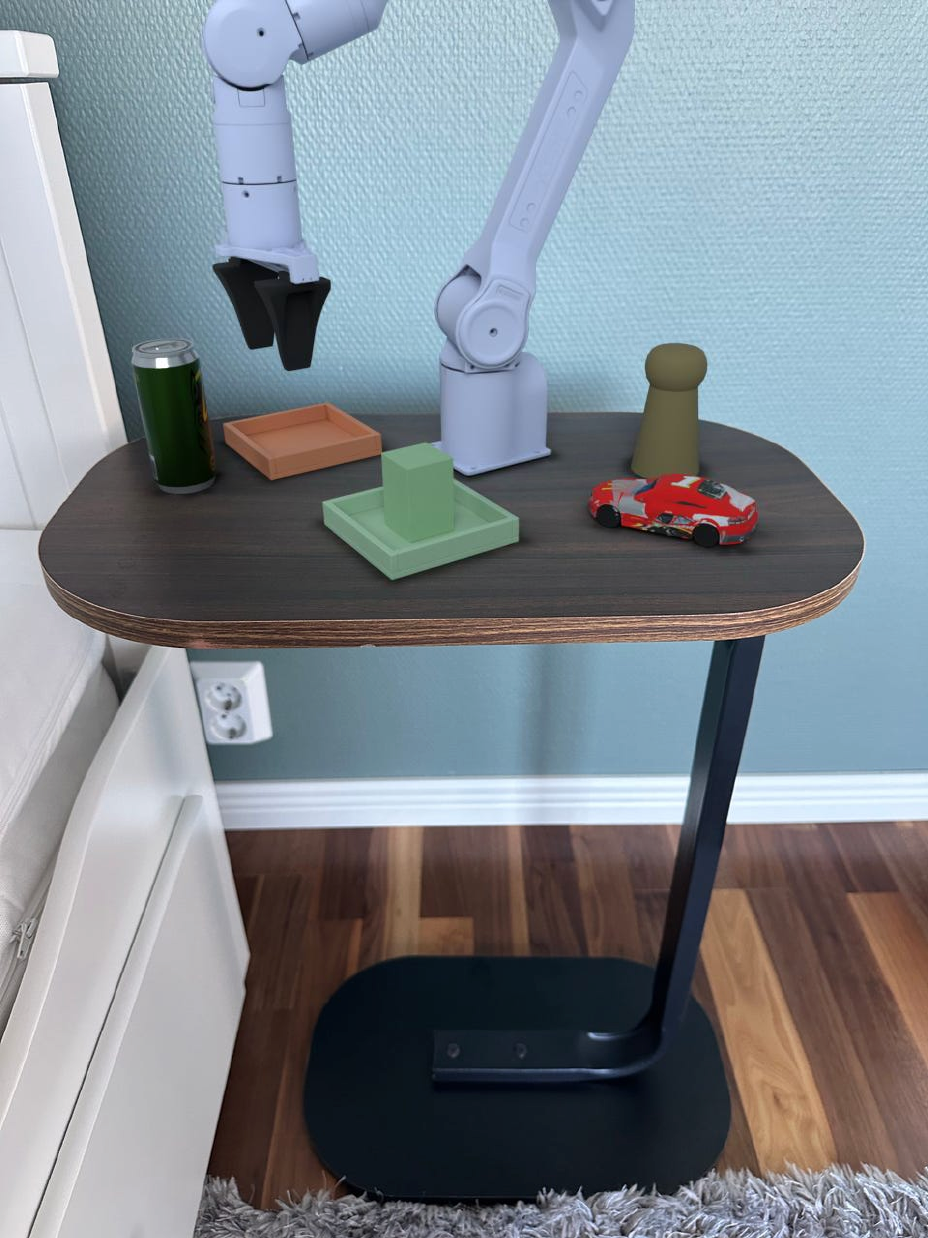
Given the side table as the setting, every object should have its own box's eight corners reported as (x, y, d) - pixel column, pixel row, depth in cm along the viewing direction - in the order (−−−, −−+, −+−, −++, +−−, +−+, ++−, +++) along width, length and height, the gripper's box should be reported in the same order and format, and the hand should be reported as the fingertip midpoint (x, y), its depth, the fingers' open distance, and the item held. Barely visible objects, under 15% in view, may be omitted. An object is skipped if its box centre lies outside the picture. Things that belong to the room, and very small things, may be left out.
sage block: (428, 512, 76) (426, 441, 73) (454, 530, 73) (453, 457, 70) (384, 524, 75) (380, 452, 71) (410, 543, 72) (406, 469, 69)
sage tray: (442, 492, 81) (442, 470, 80) (519, 541, 73) (519, 517, 72) (324, 524, 76) (321, 501, 75) (392, 580, 68) (390, 555, 67)
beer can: (167, 500, 80) (140, 359, 74) (147, 480, 84) (120, 344, 78) (227, 486, 83) (206, 348, 76) (205, 466, 86) (184, 334, 80)
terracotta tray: (330, 420, 97) (328, 401, 96) (382, 454, 89) (381, 433, 88) (225, 442, 92) (222, 423, 91) (271, 480, 84) (268, 459, 83)
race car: (577, 523, 76) (579, 476, 74) (602, 498, 80) (605, 453, 78) (742, 557, 70) (749, 508, 68) (760, 529, 74) (768, 482, 72)
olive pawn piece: (683, 487, 81) (699, 359, 76) (619, 472, 84) (629, 349, 79) (709, 464, 86) (725, 342, 80) (647, 451, 89) (658, 332, 83)
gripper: (177, 175, 76) (202, 345, 83) (246, 194, 65) (268, 387, 72) (259, 169, 79) (277, 333, 86) (337, 186, 69) (350, 372, 76)
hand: (278, 357), depth 79 cm, fingers open, 7 cm apart
